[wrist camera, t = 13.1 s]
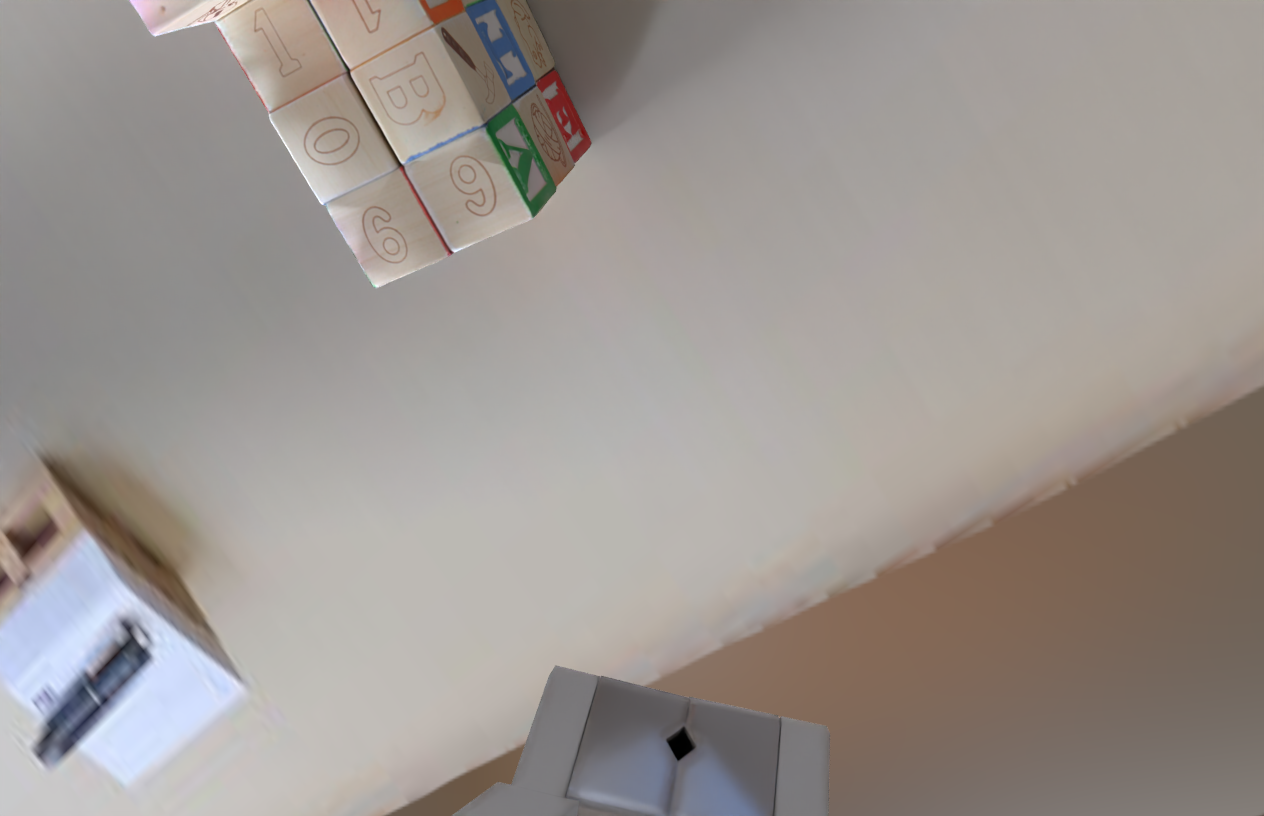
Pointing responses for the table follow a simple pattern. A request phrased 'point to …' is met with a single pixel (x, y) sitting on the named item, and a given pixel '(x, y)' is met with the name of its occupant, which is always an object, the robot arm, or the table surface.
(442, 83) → the stack of blocks
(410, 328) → the table surface
